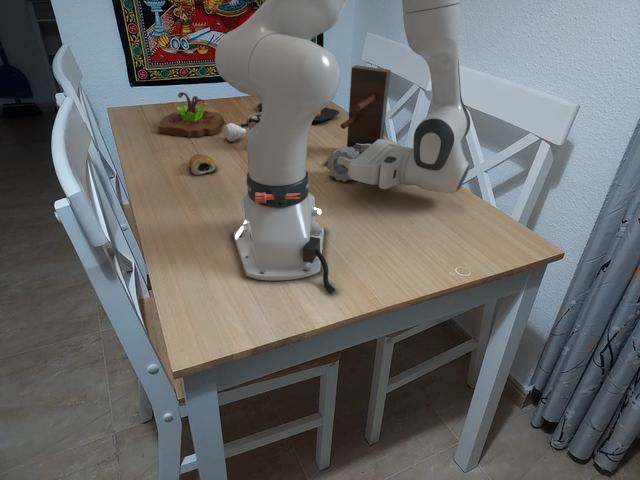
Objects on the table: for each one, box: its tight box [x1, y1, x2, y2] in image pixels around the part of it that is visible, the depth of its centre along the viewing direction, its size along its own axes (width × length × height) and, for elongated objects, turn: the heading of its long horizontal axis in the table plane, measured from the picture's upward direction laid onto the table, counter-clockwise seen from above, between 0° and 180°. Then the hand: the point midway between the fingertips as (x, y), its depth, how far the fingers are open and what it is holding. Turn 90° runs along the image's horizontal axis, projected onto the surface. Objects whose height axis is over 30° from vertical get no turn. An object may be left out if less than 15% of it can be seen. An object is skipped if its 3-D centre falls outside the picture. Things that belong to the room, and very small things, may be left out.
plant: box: [158, 91, 225, 138], centre depth 145 cm, size 20×20×11 cm
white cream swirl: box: [224, 122, 247, 143], centre depth 138 cm, size 6×6×5 cm
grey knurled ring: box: [326, 145, 360, 183], centre depth 116 cm, size 4×8×8 cm, turn 62°
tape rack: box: [326, 64, 391, 170], centre depth 121 cm, size 15×12×24 cm
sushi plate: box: [240, 102, 340, 127], centre depth 156 cm, size 29×30×4 cm
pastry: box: [188, 153, 217, 176], centre depth 120 cm, size 9×7×4 cm
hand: (346, 153), depth 114 cm, fingers open, 8 cm apart
